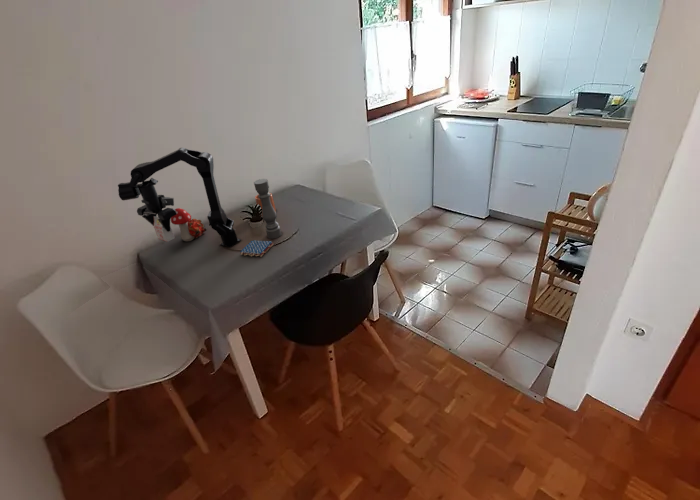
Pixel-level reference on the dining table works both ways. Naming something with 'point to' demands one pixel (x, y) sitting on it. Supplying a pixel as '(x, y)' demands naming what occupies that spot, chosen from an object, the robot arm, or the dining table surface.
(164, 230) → the white printed carton
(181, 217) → the decorative mushroom
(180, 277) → the dining table surface
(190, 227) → the dragon fruit
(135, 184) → the robot arm
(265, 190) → the candle holder
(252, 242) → the woven mat
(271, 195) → the terracotta cup
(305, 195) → the dining table surface
